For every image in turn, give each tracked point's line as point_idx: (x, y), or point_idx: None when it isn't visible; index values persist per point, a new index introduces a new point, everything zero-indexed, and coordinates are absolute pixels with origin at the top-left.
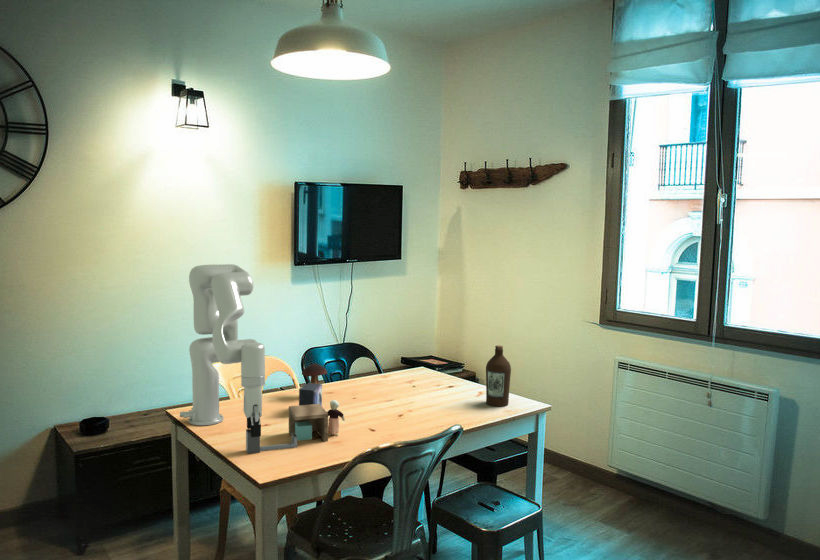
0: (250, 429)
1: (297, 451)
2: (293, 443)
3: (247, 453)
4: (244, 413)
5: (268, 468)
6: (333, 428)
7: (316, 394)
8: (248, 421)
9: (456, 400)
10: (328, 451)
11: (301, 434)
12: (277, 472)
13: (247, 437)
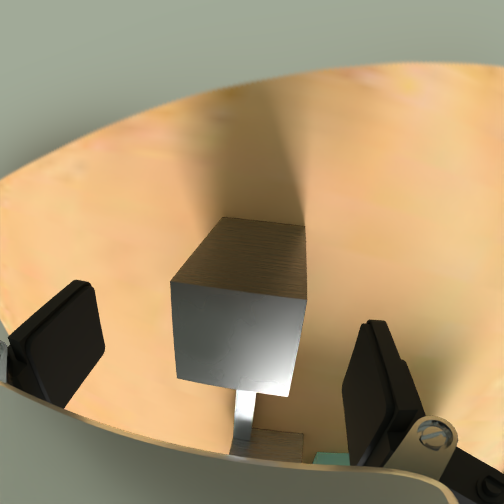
0: (279, 336)
1: (184, 417)
2: (241, 438)
3: (225, 218)
4: (194, 459)
5: (28, 262)
6: None
7: None
8: (375, 380)
9: None
10: None
11: None
12: (3, 279)
13: (189, 261)
